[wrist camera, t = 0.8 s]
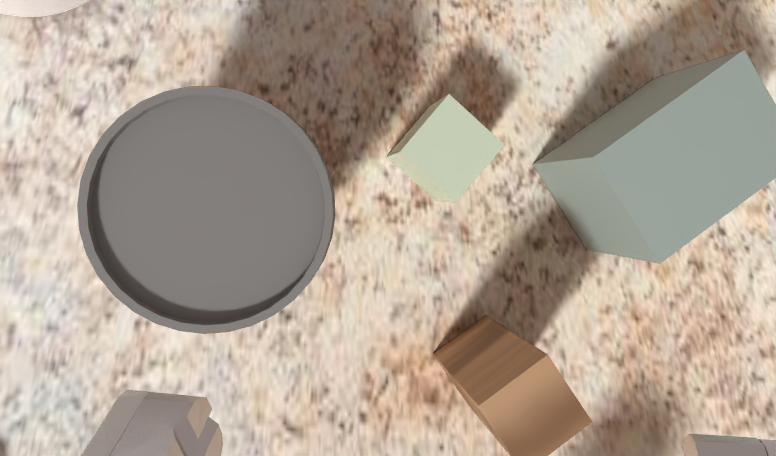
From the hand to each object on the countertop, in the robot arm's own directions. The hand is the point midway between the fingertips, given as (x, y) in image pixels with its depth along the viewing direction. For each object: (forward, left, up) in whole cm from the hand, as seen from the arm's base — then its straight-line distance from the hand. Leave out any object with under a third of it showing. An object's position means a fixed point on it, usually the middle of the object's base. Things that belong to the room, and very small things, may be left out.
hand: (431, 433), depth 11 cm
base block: (+8, +23, -36) cm, 43 cm away
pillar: (+14, +5, -36) cm, 39 cm away
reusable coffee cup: (-6, -3, -36) cm, 37 cm away
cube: (-1, +11, -36) cm, 38 cm away
